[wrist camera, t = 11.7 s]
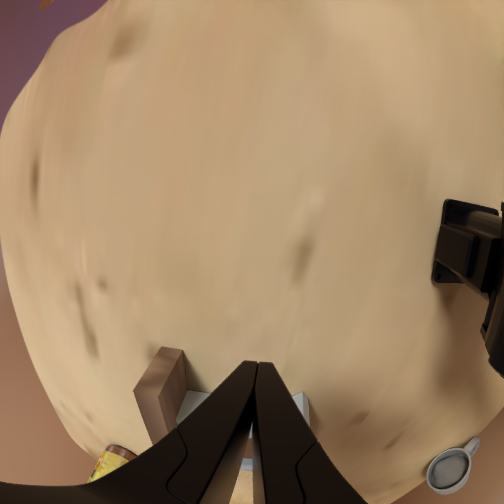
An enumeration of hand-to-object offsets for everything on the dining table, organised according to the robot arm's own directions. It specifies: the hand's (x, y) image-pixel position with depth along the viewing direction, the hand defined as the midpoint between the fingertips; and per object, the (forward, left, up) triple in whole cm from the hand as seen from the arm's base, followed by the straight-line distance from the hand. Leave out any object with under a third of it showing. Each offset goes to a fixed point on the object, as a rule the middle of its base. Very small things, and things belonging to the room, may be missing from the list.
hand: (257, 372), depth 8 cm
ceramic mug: (-32, +32, -12) cm, 47 cm away
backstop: (+8, +18, -12) cm, 23 cm away
